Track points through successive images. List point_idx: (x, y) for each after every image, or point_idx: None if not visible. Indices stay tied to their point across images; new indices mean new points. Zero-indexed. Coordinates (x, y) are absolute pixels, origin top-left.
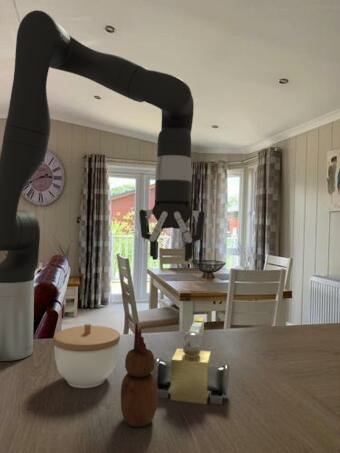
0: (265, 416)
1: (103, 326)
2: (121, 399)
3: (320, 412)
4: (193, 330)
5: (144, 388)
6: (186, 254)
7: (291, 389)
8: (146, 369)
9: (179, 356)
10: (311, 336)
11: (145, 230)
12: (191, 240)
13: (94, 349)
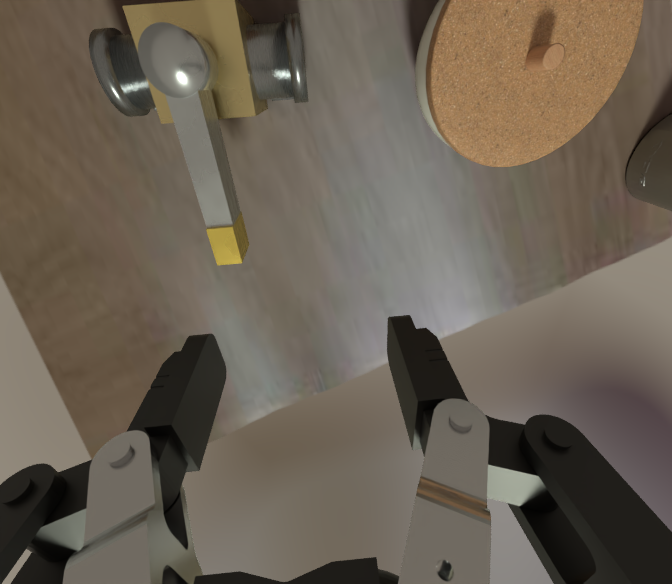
0: (24, 4)
1: (496, 162)
2: None
3: None
4: (192, 120)
5: None
6: (188, 359)
7: (42, 176)
8: None
9: (223, 39)
10: (118, 426)
11: (577, 490)
12: (104, 454)
13: None
